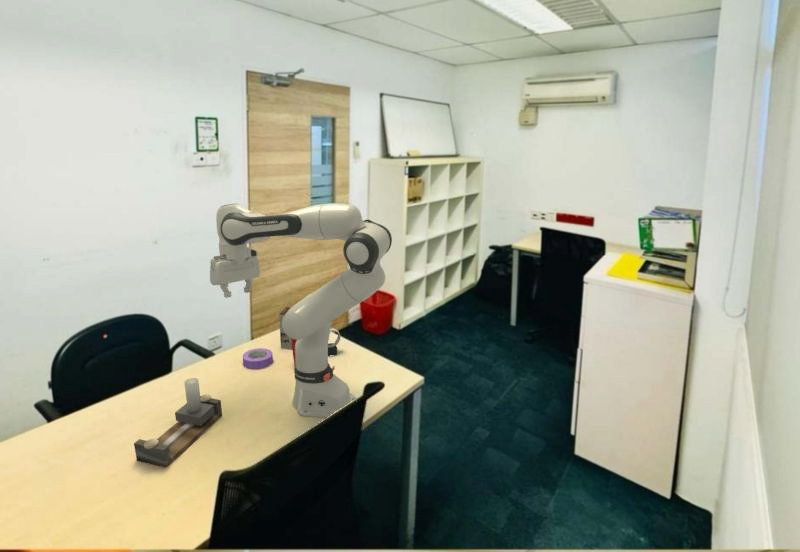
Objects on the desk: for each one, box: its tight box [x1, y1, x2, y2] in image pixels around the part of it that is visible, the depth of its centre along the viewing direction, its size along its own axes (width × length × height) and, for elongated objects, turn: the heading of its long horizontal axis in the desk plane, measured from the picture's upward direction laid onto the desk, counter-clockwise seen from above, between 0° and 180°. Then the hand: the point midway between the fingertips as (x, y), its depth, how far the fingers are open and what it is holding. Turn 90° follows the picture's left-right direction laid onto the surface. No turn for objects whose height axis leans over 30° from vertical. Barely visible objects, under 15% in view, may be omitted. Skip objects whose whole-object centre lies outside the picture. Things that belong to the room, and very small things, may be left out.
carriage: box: [174, 377, 215, 426], centre depth 147 cm, size 7×9×13 cm
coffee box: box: [278, 306, 293, 350], centre depth 204 cm, size 9×6×16 cm
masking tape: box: [242, 347, 274, 370], centre depth 189 cm, size 12×12×4 cm
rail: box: [133, 394, 223, 469], centre depth 143 cm, size 28×10×7 cm, turn 166°
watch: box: [328, 327, 341, 357], centre depth 198 cm, size 6×8×11 cm
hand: (238, 294), depth 155 cm, fingers open, 8 cm apart
